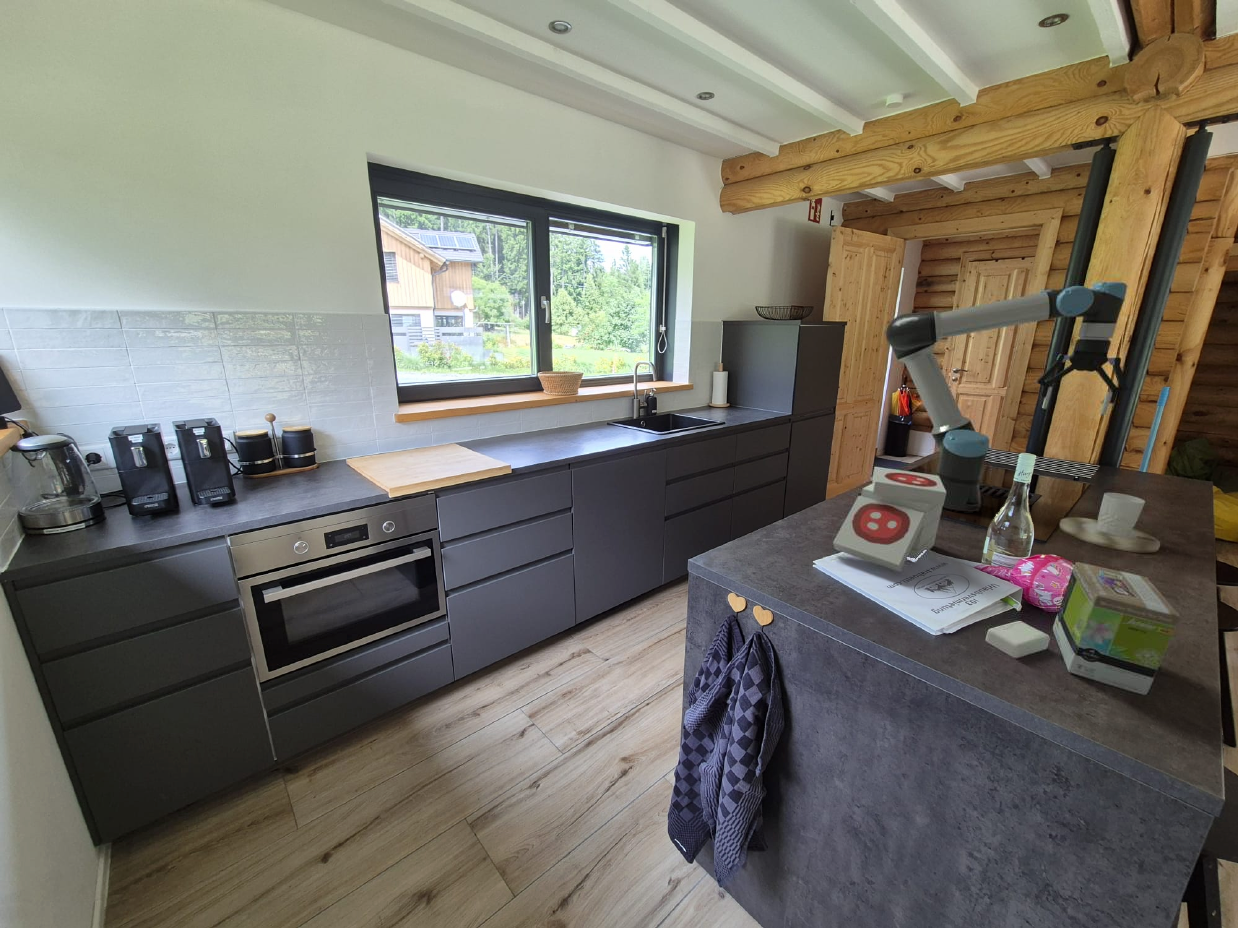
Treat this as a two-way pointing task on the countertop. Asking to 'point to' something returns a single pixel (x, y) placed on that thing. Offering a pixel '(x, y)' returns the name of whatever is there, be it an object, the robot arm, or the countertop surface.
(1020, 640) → the soap
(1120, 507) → the white cup
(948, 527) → the countertop surface
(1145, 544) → the turntable platter
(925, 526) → the pizza boxes
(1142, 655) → the tea box
